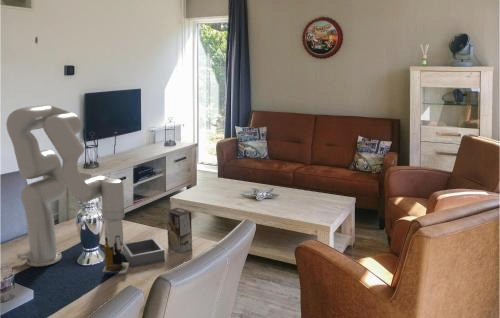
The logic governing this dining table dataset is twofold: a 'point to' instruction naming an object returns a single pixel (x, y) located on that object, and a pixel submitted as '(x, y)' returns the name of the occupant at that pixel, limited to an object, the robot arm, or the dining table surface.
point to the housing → (143, 252)
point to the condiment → (109, 260)
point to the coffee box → (179, 230)
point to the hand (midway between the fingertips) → (115, 259)
